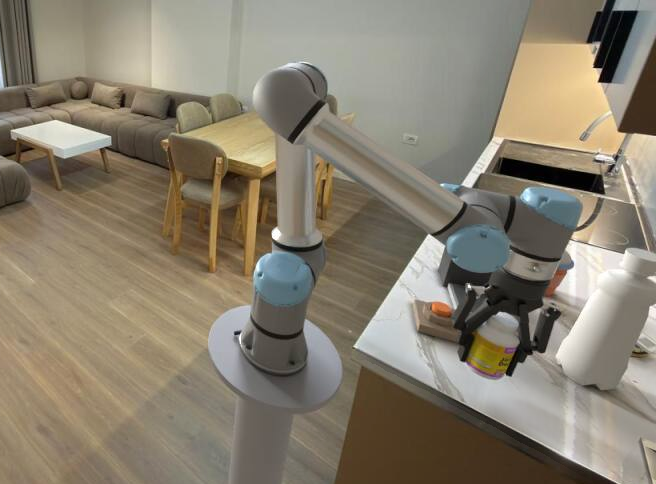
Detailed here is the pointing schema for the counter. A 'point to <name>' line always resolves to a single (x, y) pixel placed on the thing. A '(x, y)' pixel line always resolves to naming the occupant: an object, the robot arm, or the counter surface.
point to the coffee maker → (461, 281)
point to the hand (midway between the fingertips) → (483, 363)
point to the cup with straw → (560, 272)
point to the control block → (434, 321)
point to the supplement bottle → (493, 346)
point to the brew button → (441, 309)
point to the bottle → (610, 323)
